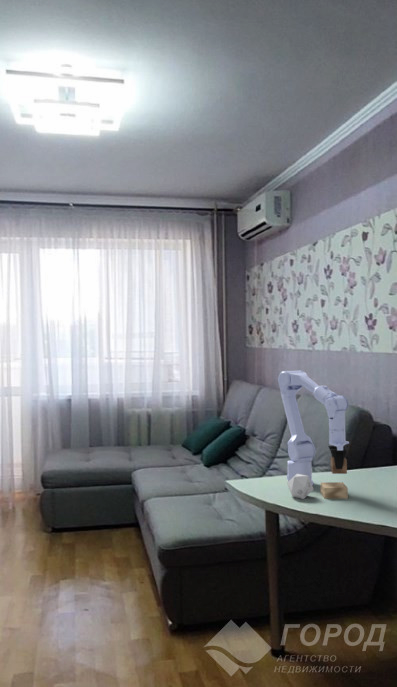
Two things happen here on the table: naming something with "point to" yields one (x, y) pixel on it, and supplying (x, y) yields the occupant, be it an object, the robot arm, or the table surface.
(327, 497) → the oak block
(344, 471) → the walnut cube
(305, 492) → the white faceted polyhedron
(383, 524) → the table surface
